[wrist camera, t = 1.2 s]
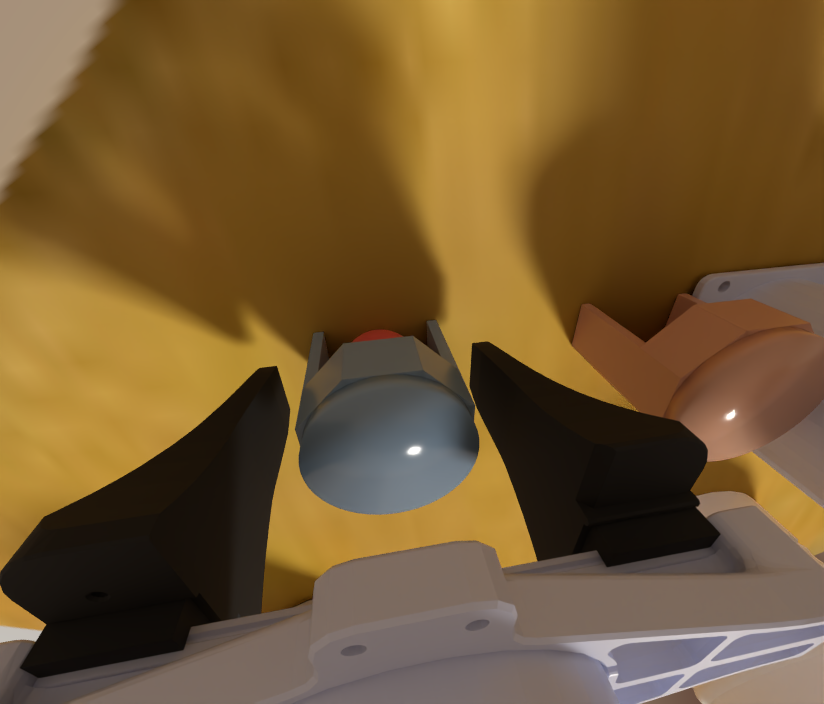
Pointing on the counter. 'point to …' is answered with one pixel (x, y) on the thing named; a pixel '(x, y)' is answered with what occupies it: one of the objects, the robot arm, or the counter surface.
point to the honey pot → (775, 683)
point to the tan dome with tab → (713, 369)
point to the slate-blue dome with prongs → (385, 423)
